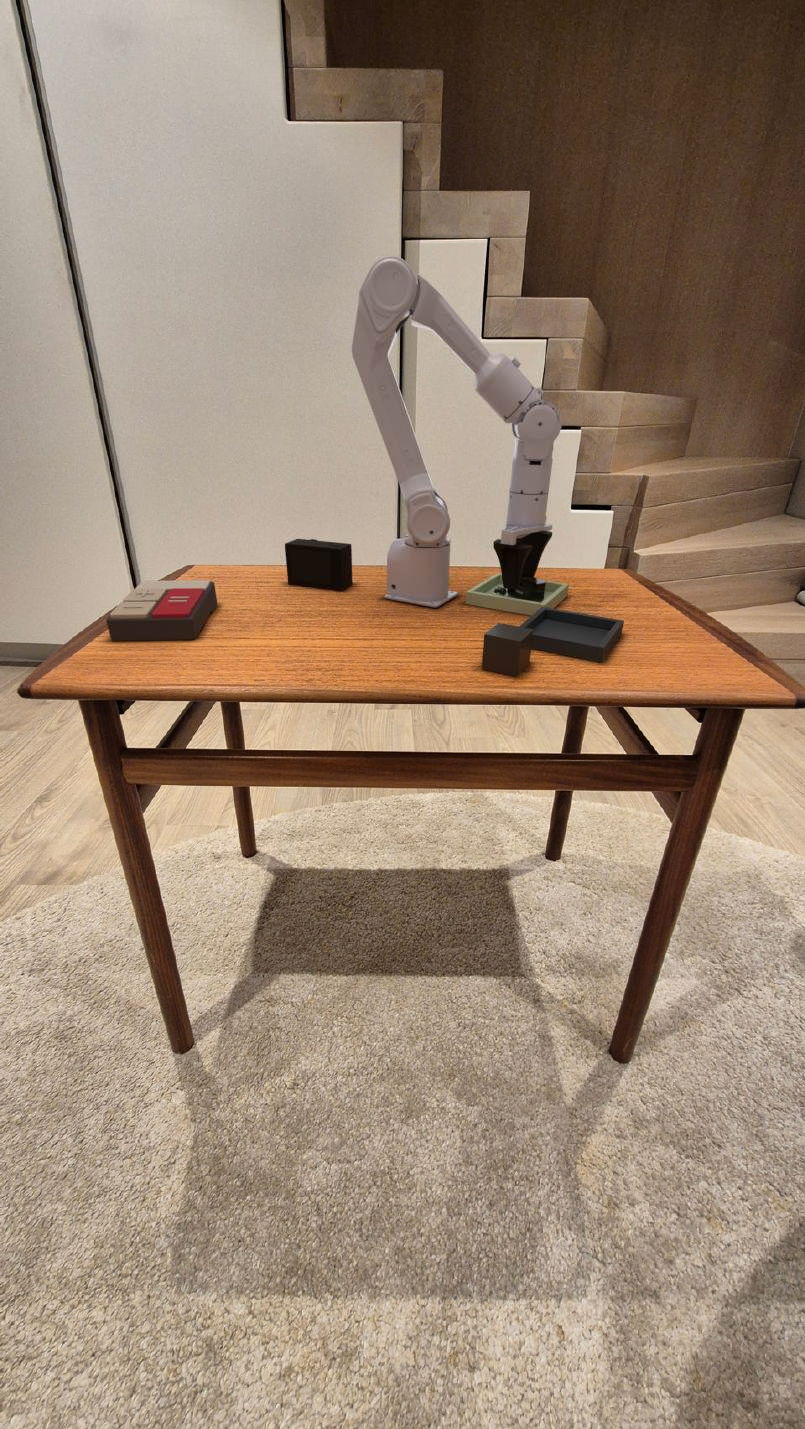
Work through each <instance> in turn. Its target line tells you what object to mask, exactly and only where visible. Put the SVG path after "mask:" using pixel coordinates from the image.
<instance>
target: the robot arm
mask: <svg viewBox="0 0 805 1429" xmlns="http://www.w3.org/2000/svg"><path fill="white" fill-rule="evenodd" d="M409 319H410V322H411V326H412V327H415V328H420V329H423V330H428V331H431V332H433V333H434V334H435V335H436V336H437V337H438V339H440V340H441V342H443V344H444V345H445V346H446V347H447V348H448V349H449V350H450V351H451V352H452V353H453V354H454V355H455V356H456V357H457V358H458V359H459V360H460V361H461V362H462V363H463V365H465V366H466V367H467V368H468V369H469V370H470V371H471V372H472V373H473V375H474V391H475V392H476V394H478V395H479V396H480V397H481V399H482V400H483V401H484V402H485V403H486V404H487V406H489V407H490V409H491V410H493V412H494V413H496V415H497V416H498V417H499V418H500V419H501V420H502V421H503V423H505V424H511V431H512V435H513V436H514V437H515V439H514V450H513V456H512V459H511V468H510V479H509V480H510V481H509V490H508V491H509V492H508V502H507V512H506V520H505V521H504V527H503V529H502V530H501V535H500V537H501V538H497V539H496V540H494V541H493V544H492V545H493V546H492V547H493V550H494V552H495V553H496V556H497V558H498V562H499V567H500V572H501V573H500V574H502V581H503V587H504V588H506V589H512V590H517V589H518V587H519V584H520V580H521V576H522V573H523V574H526V575H529V576H532V577H535V576H536V573H537V571H538V567H539V565H540V562H541V558H542V556H543V553H544V552H545V549H546V548H547V545H548V544H549V542H550V540H551V539H552V537H553V532H552V531H551V530H553V524H552V523H547V508H548V500H549V492H550V485H551V478H552V477H551V476H552V468H553V461H554V460H553V452H554V445H555V444H554V443H555V441H556V439H557V438H558V437H559V435H560V433H561V430H562V426H563V424H562V423H561V418H560V413H559V410H558V408H556V406H555V405H554V404H553V403H551V402H549V401H546V400H543V399H541V398H542V396H543V395H544V393H545V391H544V390H543V388H542V387H541V386H538V387H535V386H534V384H533V383H532V382H531V381H530V380H529V379H528V378H527V376H525V375H524V373H523V372H522V370H521V369H520V367H521V365H522V363H521V362H520V361H519V360H518V358H517V357H514V356H513V357H512V358H511V359H510V357H509V356H508V355H507V354H506V353H498V354H492V353H491V352H490V351H489V350H488V349H487V347H486V346H485V345H484V344H483V342H481V340H480V339H479V338H478V337H477V335H476V334H475V333H474V332H473V331H472V329H470V327H469V326H468V324H466V322H465V321H464V319H462V318H461V316H460V315H459V314H458V313H457V312H456V310H455V309H454V308H453V307H452V305H451V304H450V303H449V302H448V300H446V298H445V297H444V296H443V295H442V294H441V293H440V292H439V291H438V290H437V289H436V288H435V287H434V286H433V285H432V284H431V283H430V282H429V281H428V279H425V277H423V276H422V275H421V274H419V273H417V279H416V275H415V272H414V270H413V268H412V267H411V265H410V264H409V263H408V262H407V261H406V260H405V259H403V258H402V257H400V256H397V255H386V256H382V257H380V258H379V259H377V260H376V261H375V262H373V264H372V265H371V267H370V268H369V269H368V272H367V274H366V276H365V277H364V280H363V282H362V284H361V286H360V288H359V290H358V297H357V310H356V317H355V323H354V329H353V335H352V342H351V343H352V344H351V355H352V359H353V361H354V364H355V368H356V370H357V372H358V375H359V378H360V382H361V383H362V387H363V389H364V392H365V394H366V397H367V399H368V402H369V405H370V408H371V410H372V414H373V416H374V420H375V422H376V425H377V427H378V430H379V432H380V435H381V438H382V441H383V443H384V446H385V449H386V452H387V454H388V457H389V460H390V463H391V465H392V468H393V471H394V473H395V476H396V479H397V481H398V484H399V488H400V491H401V496H402V500H403V502H404V505H405V508H406V513H407V514H406V515H407V516H406V529H407V532H408V533H407V534H406V535H404V537H403V538H397V539H395V540H393V541H392V542H391V544H390V546H389V548H388V551H387V556H386V594H385V595H384V599H386V600H392V601H397V602H401V603H408V604H414V605H419V606H425V607H429V608H435V609H436V608H439V607H440V606H442V605H444V604H445V603H447V602H449V601H450V600H452V599H454V598H455V597H457V596H458V595H459V592H457V591H453V590H449V586H450V585H449V583H450V565H451V564H450V563H451V544H452V543H451V542H452V539H451V537H449V536H447V535H448V533H449V530H450V528H451V518H450V514H449V511H448V510H449V509H448V506H447V503H446V501H445V500H444V498H443V497H442V496H441V495H440V494H438V492H437V491H436V489H435V487H434V484H433V481H432V479H431V476H430V474H429V470H428V468H427V464H426V462H425V459H424V456H423V453H422V450H421V448H420V444H419V442H418V439H417V436H416V433H415V430H414V428H413V423H412V421H411V418H410V415H409V413H408V409H407V407H406V404H405V401H404V398H403V395H402V392H401V389H400V386H399V383H398V380H397V378H396V375H395V372H394V369H393V366H392V362H391V360H390V354H391V351H392V348H393V346H394V344H395V341H396V339H397V336H398V332H400V330H401V328H402V327H403V326H404V325H405V324H406V323H407V321H408V320H409Z"/></svg>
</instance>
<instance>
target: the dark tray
mask: <svg viewBox="0 0 805 1429" xmlns="http://www.w3.org/2000/svg"><path fill="white" fill-rule="evenodd" d="M624 624H625V620H622V619H618V618H617V619H616V618H612V617H605V616H599V615H593V614H588V613H581V612H576V611H570V610H565V609H558V608H547V607H541V608H540V609H539V610H538V611H537V612H536V613H534V614H533V615H532V616H529V617H528V618H526V620H525V621H523V623H521V624H520V625H519V626H518V627H523V628H528V629H533V638H532V647H531V650H537V651H541V652H548V653H552V654H558V655H562V656H567V657H570V658H571V657H572V658H576V659H580V660H581V659H582V660H587V661H592V662H596V663H602V662H603V661H604V660H605V659H606V657H607V656H608V654H609V653H610V652H611V650H612V648H613V647H614V646H615V645H616V643H617V641H618V640H619V639H620V637H621V635H622V634H623V631H624V630H623V629H624Z"/></svg>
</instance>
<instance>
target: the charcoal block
mask: <svg viewBox="0 0 805 1429" xmlns="http://www.w3.org/2000/svg"><path fill="white" fill-rule="evenodd" d="M532 638H533V629H528V628H523V627H519V626H517V625H512V624H506V623H500V622H498V623H496V624H495V625H494V626H492V627H491V628H490V629H488V630H487V631H486V632H485V633H484V634H483V645H482V658H481V670H484V671H490V672H494V673H497V674H501V675H507V676H511V677H516V678H517V677H519V676H520V674H522V672H523V671H524V670H525V669H526V668H527V667H528V666H529V665H530V663H531V662H530V661H531V654H532V648H531V647H532Z"/></svg>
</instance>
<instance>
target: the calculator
mask: <svg viewBox="0 0 805 1429" xmlns="http://www.w3.org/2000/svg"><path fill="white" fill-rule="evenodd" d="M217 605H218V598H217V592H216V585H215V582H214V581H211V580H209V579H198V580H197V579H193V580H191V579H190V580H189V579H187V580H186V579H185V580H183V579H181V580H142V581H140V582H139V583H138V584H137V586H136V587H135V588H133V589H132V590H131V591H130V592H129V593H128V594H127V595H126V596H125V598H123V600H122V601H121V602H119V604H118V605H116V607H115V608H114V609H113V610H112V612H110V613H109V616H108V617H107V618H106V620H105V621H106V626H107V629H108V633H109V637H110V640H111V641H113V642H114V641H115V642H116V641H117V642H118V641H119V642H121V641H122V642H123V641H125V642H126V641H179V640H180V641H181V640H186V641H189V640H196V638H197V637H198V635H199V633H200V632H201V629H202V628H203V626H204V624H205V622H206V621H207V619H208V617H209V615H210V613H214V611H215V609H216V607H217Z"/></svg>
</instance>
